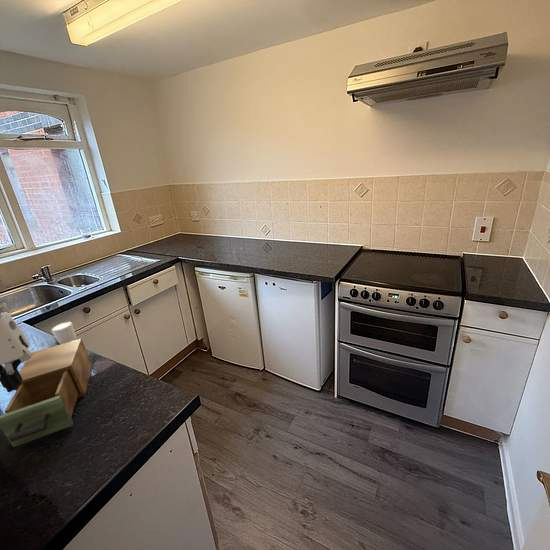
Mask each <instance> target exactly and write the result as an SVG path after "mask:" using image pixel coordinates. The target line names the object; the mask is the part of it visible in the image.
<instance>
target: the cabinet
mask: <svg viewBox="0 0 550 550" xmlns="http://www.w3.org/2000/svg"><path fill="white" fill-rule="evenodd" d="M31 353H32V356H31V358H30V359H29V360H27V361H25V362H24V364H23V366H22V367H21V369H20V370H19V373H20V375H21V377H22V383H24V382H27V381H31V380H34V379H37V378H40V377H43V376H47V375H50V374H53V373H56V372H59V371H63V370H66V369H70V371H71V374H72V376H73V378H74V380H75V382H76V384H77V386H78V388H79V393H78V397H77V399H78V398H81V397H84V396H86V393H87V389H88V386H89V382H90V378H91V374H92V370H93V367H94V365H93V362H92V360H91V357H90V355H89V353H88V351H87V348H86V346H85V344H84V341H83V339H82V338H78V339H76V340H74V341H73V340H72V341H70V342H67V343H64V344H58V345H53V346H50V347H46V348H42V349H40V350H36V351H32V352H31ZM16 391H17V390H15V392H16Z"/></svg>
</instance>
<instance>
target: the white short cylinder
mask: <svg viewBox="0 0 550 550" xmlns="http://www.w3.org/2000/svg"><path fill="white" fill-rule="evenodd" d="M50 331H51V333H52V335H53V336H54V338H55V339H56V341H57V343H58V345H60V344H64V343H67V342H71V341H74V340H78V339H77V335H76V332H75V328H74V326H73V322H71V321H65V322H61V323H58V324H57V325H55V326H53V327H52V328H51V329H50Z"/></svg>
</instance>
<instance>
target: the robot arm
mask: <svg viewBox="0 0 550 550" xmlns="http://www.w3.org/2000/svg"><path fill="white" fill-rule="evenodd" d="M7 310H8V305H7V303H0V384H1V386H2V387H3V388H4V389H5V390H6V392H7V393H11V392H13V391H15V392H16V390H17V389H18V388H19V386H20V384H21V383H22V377H21V375H20V373H19V372H20V370H18V367H19V366H20V364H22V363H25V362H26V361H27V360H29V359H30V358H31V356H32V352H31V351H30V350H29V348H30V342H29V340H28V338H27V337H26V335H25V333H24V331H23V330H22V328H21V326H19V324H18V323H17V321H16V320H15V319H14V318H13V317H12V316H11V315H10V314H9V312H6V311H7ZM4 311H5V312H4Z"/></svg>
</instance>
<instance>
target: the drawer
mask: <svg viewBox="0 0 550 550" xmlns="http://www.w3.org/2000/svg"><path fill="white" fill-rule="evenodd" d="M78 393H79V388H78V386H77V384H76V382H75V380H74V378H73V376H72V374H71V371H70V369H66V370H63V371H59V372H56V373H53V374H50V375H47V376H43V377H40V378H37V379H34V380H31V381H27V382H24V383H21V384H20V386H19V388H18V389H17V391H16V390H15V393H14V394H13V396H12V397H11V399H10V401H9V403H8V405H7V406H6V408H5V410H4V413H3V414H0V429H1V431H2V432H3V434H4V435H5V437H6V439H7V440H8V442H9V443H10V445H11V447H12V448H16V447H19V446H21V445H24V444H27V443H30V442H32V441H35V440H38V439H41V438H43V437H46V436H49V435H51V434H54V433H57V432H59V431H61V430H65V429H67V428H70V427H73V426H74V420H73V419H72V417H73V414H74V410H75V406H76V403H77V400H78V398H79V397H78ZM77 397H78V398H77Z"/></svg>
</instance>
